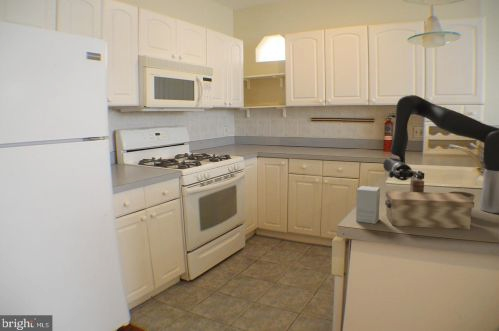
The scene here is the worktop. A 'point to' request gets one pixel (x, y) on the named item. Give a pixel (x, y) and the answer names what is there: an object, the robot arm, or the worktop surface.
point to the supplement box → (367, 204)
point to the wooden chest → (428, 209)
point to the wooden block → (417, 185)
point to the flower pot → (465, 194)
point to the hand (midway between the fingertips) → (409, 177)
